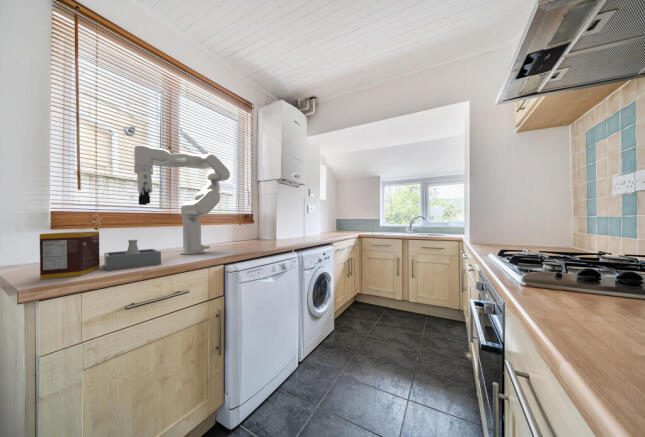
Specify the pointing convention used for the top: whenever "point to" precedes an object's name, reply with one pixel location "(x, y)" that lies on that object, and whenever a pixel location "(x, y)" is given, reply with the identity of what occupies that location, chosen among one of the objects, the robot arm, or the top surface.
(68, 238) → the supplement box
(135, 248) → the flask
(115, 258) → the bin
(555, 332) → the top surface
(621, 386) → the top surface
